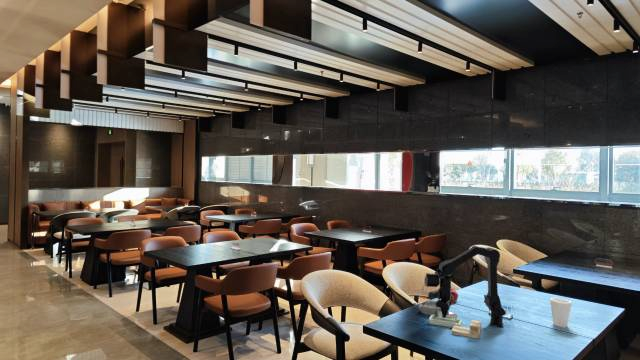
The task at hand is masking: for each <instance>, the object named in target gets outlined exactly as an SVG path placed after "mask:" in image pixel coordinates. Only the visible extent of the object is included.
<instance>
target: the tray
mask: <svg viewBox="0 0 640 360" xmlns="http://www.w3.org/2000/svg"><path fill="white" fill-rule="evenodd" d="M428 324H429V325H435V326H439V327H446V328H451V329H453V326H454V325H455V326H461V327H462V325H463V319H460V318H457V321H456V320H450V319H444V318H437V317H434V315H429V318H428Z"/></svg>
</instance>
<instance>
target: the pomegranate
mask: <svg viewBox="0 0 640 360" xmlns="http://www.w3.org/2000/svg"><path fill="white" fill-rule="evenodd" d="M451 294H452V295H453V296H454V299H453V300H452V299H451V300H450V301H451V302H452V303H456V302H457V301H458V299H459V294H458V292H456V290H455V288H452V290H451Z"/></svg>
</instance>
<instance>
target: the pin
mask: <svg viewBox="0 0 640 360" xmlns="http://www.w3.org/2000/svg"><path fill="white" fill-rule="evenodd" d="M434 317H437V318H443V316H442V312H441V311H436V310H435V313H434ZM444 319H450V320H456V321H457V319H458V313H453V312H449V311H448V312H447V315H446V317H445V318H444Z"/></svg>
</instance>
